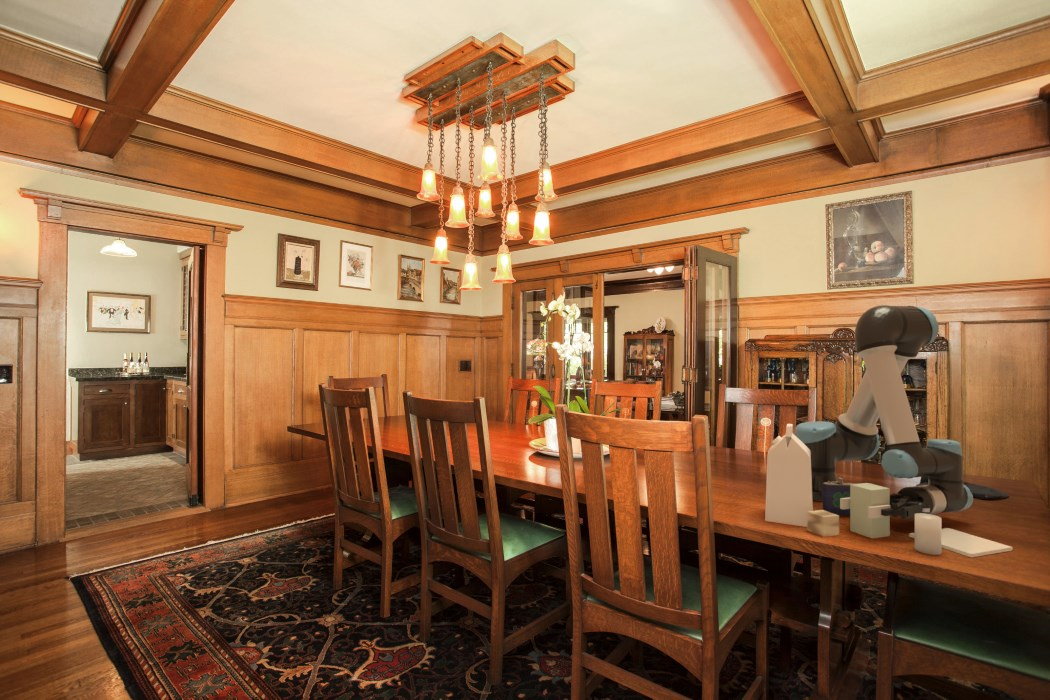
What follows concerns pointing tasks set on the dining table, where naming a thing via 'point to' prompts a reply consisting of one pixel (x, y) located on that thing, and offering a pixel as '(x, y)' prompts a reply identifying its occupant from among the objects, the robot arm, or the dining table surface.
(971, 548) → the white tile
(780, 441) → the milk
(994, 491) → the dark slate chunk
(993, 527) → the dining table surface
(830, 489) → the flask
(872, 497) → the sage block
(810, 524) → the maple cube
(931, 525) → the white cylinder
